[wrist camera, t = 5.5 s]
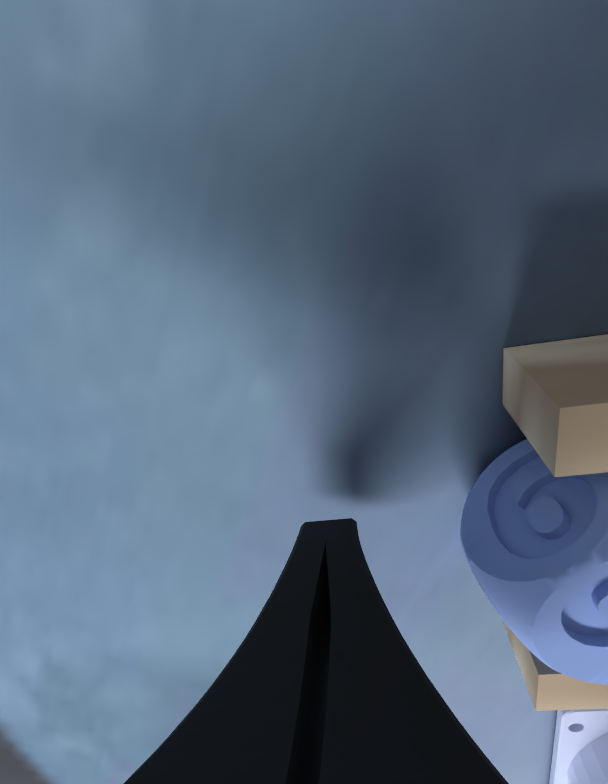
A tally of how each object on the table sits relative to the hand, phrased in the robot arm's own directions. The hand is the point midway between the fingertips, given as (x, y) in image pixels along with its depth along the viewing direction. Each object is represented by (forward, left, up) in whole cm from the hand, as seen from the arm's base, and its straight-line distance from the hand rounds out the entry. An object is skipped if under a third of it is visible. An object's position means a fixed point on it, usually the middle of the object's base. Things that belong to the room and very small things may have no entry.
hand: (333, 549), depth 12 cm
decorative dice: (0, -6, -2) cm, 6 cm away
